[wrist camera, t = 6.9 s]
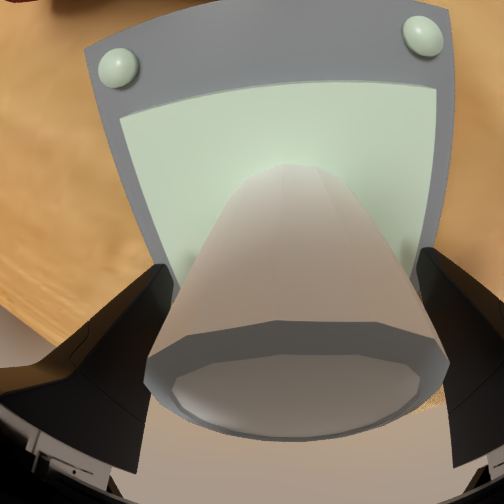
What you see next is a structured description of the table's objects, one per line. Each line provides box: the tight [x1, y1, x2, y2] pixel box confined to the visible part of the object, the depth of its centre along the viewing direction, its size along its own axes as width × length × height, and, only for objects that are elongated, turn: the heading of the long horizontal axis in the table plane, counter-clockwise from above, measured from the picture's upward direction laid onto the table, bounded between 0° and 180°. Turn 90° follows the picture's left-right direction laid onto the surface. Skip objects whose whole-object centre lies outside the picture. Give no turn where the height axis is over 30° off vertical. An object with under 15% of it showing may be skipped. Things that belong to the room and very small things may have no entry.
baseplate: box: [84, 0, 455, 303], centre depth 12 cm, size 14×18×2 cm
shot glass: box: [143, 164, 450, 442], centre depth 8 cm, size 7×7×7 cm
